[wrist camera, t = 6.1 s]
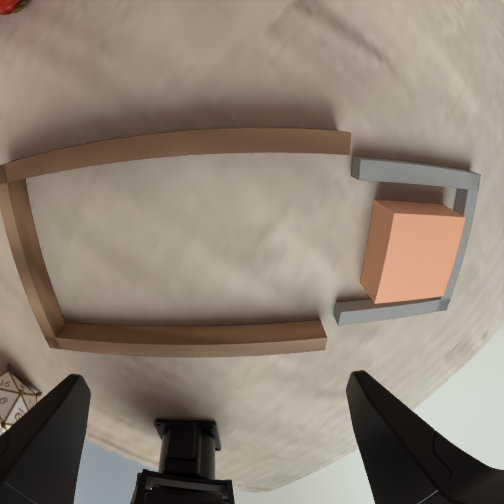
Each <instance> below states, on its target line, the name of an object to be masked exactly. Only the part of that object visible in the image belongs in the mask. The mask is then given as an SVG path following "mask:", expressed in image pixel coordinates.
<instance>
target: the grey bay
mask: <svg viewBox="0 0 504 504" xmlns="http://www.w3.org/2000/svg"><path fill="white" fill-rule="evenodd" d="M351 176H352V177H354V178H356V179H358V180H363V181H381V182H396V183H410V184H421V185H432V186H442V187H451V188H458V189H457V195H456V201H455V207H454V211H455V212H457V213H459V214H461V215H462V216H464V217H466V219H465V223H464V227H463V231H462V236H461V239H460V243H459V247H458V251H457V254H456V258H455V261H454V265H453V268H452V271H451V274H450V277H449V280H448V283H447V286H446V289H445V292H444V295H443V296H441V297H433V298H425V299H416V300H407V301H398V302H388V303H377V304H374V302H373V301H372V299H367V300H357V301H346V302H336V305H335V311H334V318H335V320H336V322H337V324H338V326H340V325H349V324H358V323H366V322H374V321H381V320H388V319H395V318H402V317H408V316H414V315H421V314H426V313H432V312H438V311H443V310H447V307H448V304H449V302H450V299H451V296H452V293H453V290H454V287H455V284H456V281H457V278H458V275H459V271H460V268H461V265H462V261H463V258H464V254H465V251H466V247H467V243H468V239H469V235H470V231H471V226H472V222H473V217H474V212H475V207H476V202H477V196H478V190H479V183H480V176H481V175H480V174H477V173H475V172H472V171H468V170H462V169H456V168H450V167H444V166H437V165H430V164H423V163H415V162H407V161H398V160H388V159H378V158H366V157H353V158H352V174H351Z"/></svg>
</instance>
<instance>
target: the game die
mask: <svg viewBox="0 0 504 504" xmlns="http://www.w3.org/2000/svg"><path fill="white" fill-rule="evenodd" d="M41 394H42V393H41V392H38V393H36V394H35V393H34V392H33V391H31V390H30V389H29V388H28V387H27V386H25V385H24V384H23V383H22V382H21V381H20V380H19V379H18V378H16V377H15V376H14V375H13V374H12V373H11V372H10V365H9V363H8V365H7V371H6V372H4V373H2V374H1V375H0V431H1V432H2V433H4V432H5V431H6V430H8V429H9V428H10V427H11V426H12V425H13V424H14V423H15V422H16V421H17V420H18V419H20V418H21V417H22V416H23V415H24V414H25V413H26V412H27V411H29V410H30V409H31V408H32V407H33V406H34V405H35V404H36V403H37V396H41Z"/></svg>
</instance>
